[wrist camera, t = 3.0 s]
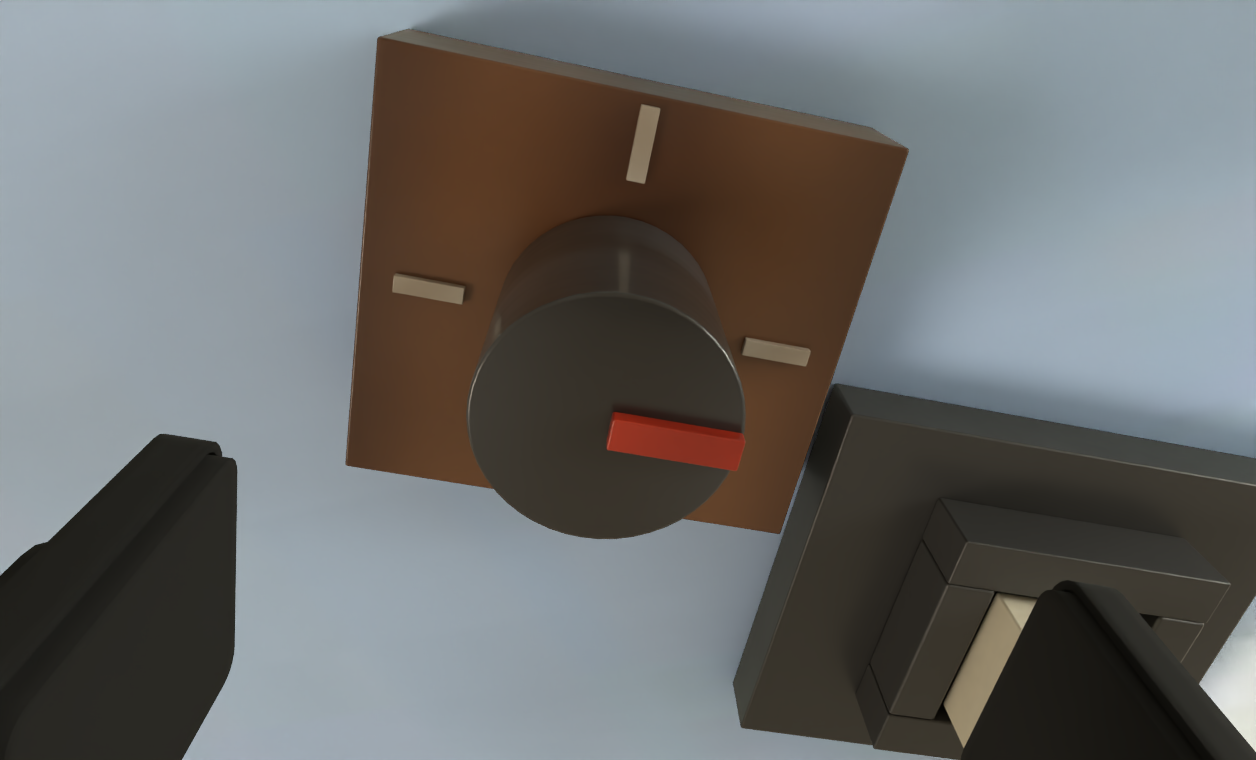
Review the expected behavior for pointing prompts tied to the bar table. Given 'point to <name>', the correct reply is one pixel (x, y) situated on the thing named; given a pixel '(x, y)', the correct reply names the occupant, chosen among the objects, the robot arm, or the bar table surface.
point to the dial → (606, 383)
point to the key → (986, 660)
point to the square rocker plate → (976, 557)
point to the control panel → (601, 186)
